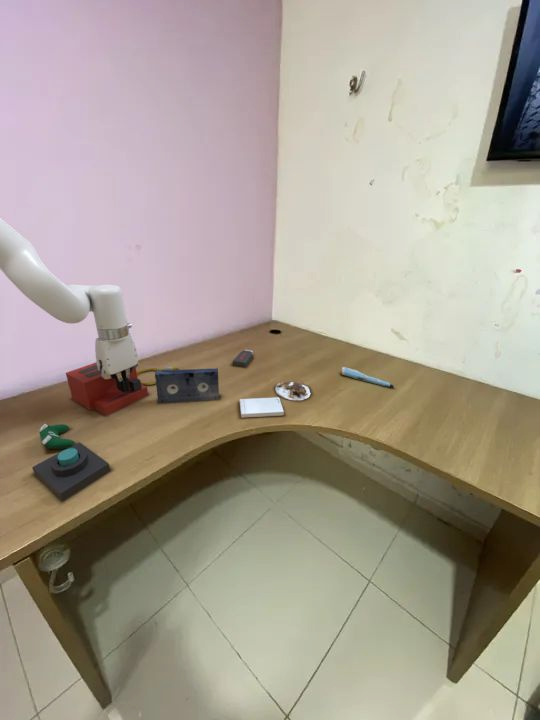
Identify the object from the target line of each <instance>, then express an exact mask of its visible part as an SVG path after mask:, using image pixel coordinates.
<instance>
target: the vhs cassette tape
mask: <svg viewBox="0 0 540 720" xmlns="http://www.w3.org/2000/svg"><path fill="white" fill-rule="evenodd" d="M160 370H161V371H154V379H155V381H156V382H155V383H156V384H155V387H156V396H157V401H158V404H167V403H168V404H169V403H182V402H183V403H184V402H199V401H202V402H203V401H216V400H219V399H220V390H219V368H189V369H188V368H187V369H177V370H162V369H160Z"/></svg>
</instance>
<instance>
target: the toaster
mask: <svg viewBox="0 0 540 720" xmlns="http://www.w3.org/2000/svg"><path fill="white" fill-rule="evenodd" d="M137 372H138V371H137V367H136V368H135V369H133V370H132V372H131V373H130V377H129V378H128V379H129V380H132V379H134V378H137V379H139V378H138V375H137V374H138V373H137ZM120 373H121V371H120ZM101 374H102V371H99V370H98V367H97V362H93V363H91V364H87V365H84V366H81V367H79V368H76V369H73V370H70V371H67V372H65V376H66V380H67V383H68V387H69V391H70V394H71V395H70V396H71V398H72V400H73V401H75V402H76V403H78V404H79V405H81V406H83V407H84V408H86V409H88V410H89V411H92V410H95V411H97V412H99V413H101V414H102V415H103V416H106V417H107V416H109V415H111V414H113V413H115V412H117V411H119V410H121V409H123V408H125V407H127V406H129V405H131V404H133V403H135V402H137V401H139V400H142V399H143V398H145V397H147V396H149V391H148V386H144V385H142V384H141V387H142V389H140V390H137V391H133V390H131V389H130V386H129V389H130V390H129V391H126V392H125V393H124V392H122V391H120V390H118V388H117V384H116V380H115V379H113V378H111V379H103V378H102V377H101Z"/></svg>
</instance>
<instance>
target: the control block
mask: <svg viewBox="0 0 540 720" xmlns="http://www.w3.org/2000/svg"><path fill="white" fill-rule="evenodd" d="M70 448H74V449H76V450H77V452H78V455H79V459H78V461H77V462H75V463H73V464H72V465H68V466H61V465H60V464H59V461H58V454H59V453H60V452H58V453H56V454H54V455H52V456H50V457H48V458H46V459H44V460H43V461H41V462H39V463H37V464H35V465H33V466H31V468H32V472H33V474H34V476H36V478H37V479H39V480H40V481H41V483H43V484H44V485H45V486H46V487H47V488H48V489H49V490H50V491H51V492H52V493H54V495H55V496H57V498H58V499H59V500H61V501H62V502H65V501H66V500H68V499H69V498H71V497H72V496H74V495H75V494H77V493H78V492H80V491H81V490H83V489H84V488H86V487H87V486H89V485H91V484H92V483H93V482H96V481H98V479H101V478H102V477H103V476H104V475H107V474H108V473H109V472H111V468H110V464H109V462H107V461H106V460H105V459H104V458H103V457H101V456H99V455H98V454H97V453H96V452H94V451H92V450H91V449H90V448H88V447H87V446H86V445H85V444H83V443H81V441H79V442H77V443H74V445H73V446H71V447H69V448H66V449H70Z"/></svg>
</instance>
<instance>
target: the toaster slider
mask: <svg viewBox="0 0 540 720" xmlns="http://www.w3.org/2000/svg"><path fill="white" fill-rule="evenodd" d="M137 378H138V377H137ZM137 378H134V379H132V380H129V384H130V389H131V390H133V391H137V390H140V389H142V387H141V383H142V382H141V379H139V378H138V379H137Z"/></svg>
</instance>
